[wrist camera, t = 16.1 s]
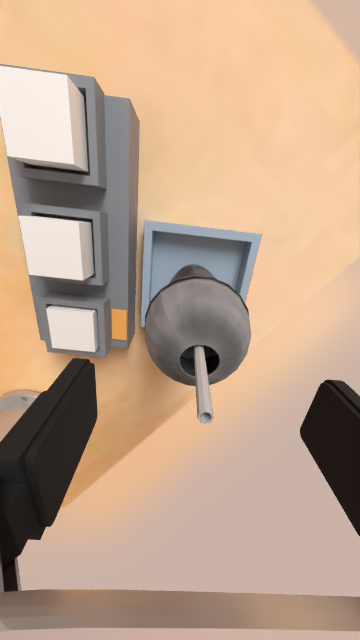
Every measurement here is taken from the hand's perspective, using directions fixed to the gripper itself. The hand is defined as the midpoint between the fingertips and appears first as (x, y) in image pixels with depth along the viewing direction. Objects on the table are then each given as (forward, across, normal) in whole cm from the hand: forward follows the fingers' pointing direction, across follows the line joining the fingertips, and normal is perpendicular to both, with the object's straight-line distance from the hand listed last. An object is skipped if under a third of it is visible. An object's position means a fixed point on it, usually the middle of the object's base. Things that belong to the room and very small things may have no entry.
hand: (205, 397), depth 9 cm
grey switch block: (+19, +11, -4) cm, 22 cm away
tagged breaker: (+15, +11, +4) cm, 19 cm away
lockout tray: (+19, -1, -1) cm, 19 cm away
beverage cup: (+18, 0, 0) cm, 18 cm away
